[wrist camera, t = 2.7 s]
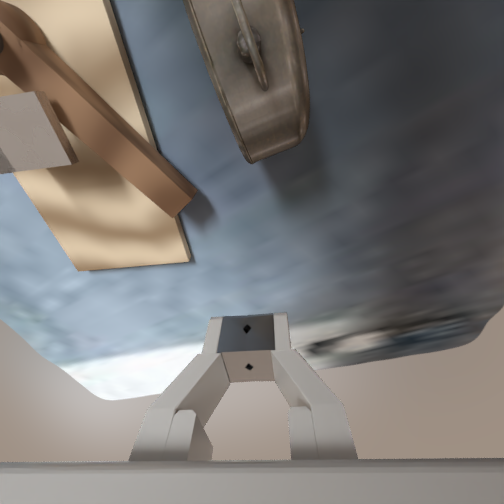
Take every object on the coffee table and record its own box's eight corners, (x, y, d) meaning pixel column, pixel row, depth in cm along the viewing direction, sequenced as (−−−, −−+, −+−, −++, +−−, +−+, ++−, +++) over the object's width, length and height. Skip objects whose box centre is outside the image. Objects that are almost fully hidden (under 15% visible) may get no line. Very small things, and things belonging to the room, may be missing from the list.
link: (-23, 39, 19) (-105, 24, 14) (-4, -17, 17) (-91, -53, 13) (175, 212, 26) (159, 235, 22) (202, 185, 24) (190, 205, 20)
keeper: (5, 102, 21) (-48, 104, 17) (74, 91, 20) (33, 91, 17) (40, 161, 24) (0, 174, 20) (101, 153, 23) (71, 164, 20)
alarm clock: (197, 2, 18) (15, -262, 5) (264, -36, 17) (285, -538, 3) (248, 148, 24) (234, 221, 10) (302, 126, 23) (366, 177, 9)
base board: (-89, -7, 18) (-110, -13, 17) (94, -46, 17) (84, -55, 16) (83, 265, 32) (78, 271, 31) (191, 256, 31) (188, 261, 30)
